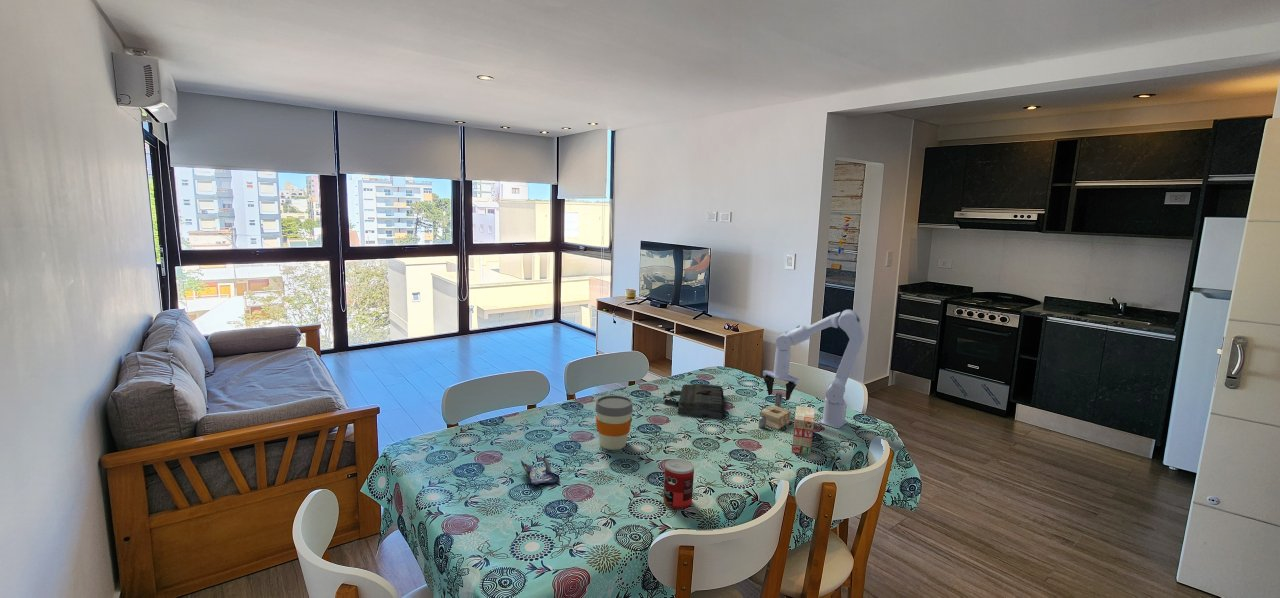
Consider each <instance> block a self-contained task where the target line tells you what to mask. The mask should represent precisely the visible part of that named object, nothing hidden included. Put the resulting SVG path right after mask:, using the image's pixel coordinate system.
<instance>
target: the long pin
mask: <svg viewBox="0 0 1280 598" xmlns="http://www.w3.org/2000/svg"><path fill="white" fill-rule="evenodd" d="M774 402H775V403H774V406H777V407H780V408H782V403H783V393H782V392H776V393H775V401H774Z"/></svg>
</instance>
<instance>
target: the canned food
mask: <svg viewBox="0 0 1280 598" xmlns="http://www.w3.org/2000/svg"><path fill="white" fill-rule="evenodd" d="M663 474H664V477H663V478H664V479H663V495H662V496H663V497H662V498H663V502H664V505H666V506H667V507H669V508H672V509H678V510H679V509H680V510H681V509H686V508H688V507H690V506H691V505H692V502H693V491H694V490H693V489H694V474H695V465H694V464H693V462H691V461H689V460H686V459H682V458H673V459H669V460H666V462H665V465H664V473H663Z"/></svg>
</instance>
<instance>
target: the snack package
mask: <svg viewBox="0 0 1280 598" xmlns="http://www.w3.org/2000/svg"><path fill="white" fill-rule="evenodd" d="M539 459H541V457H540V458H539ZM519 460H520V463H521V466H522V468H523V469H524V470H525V471H524V472H526V474H527V477H528V479H529V481H530V483H531V485H532V486H533V487H534V486H536V485H539V484H544V485H545V486H547V485H553V484H555V483H559V482H560V479H561V478H560V475H559V474H556V473H554V472H552V468H551V466H552V465H551V463H550V462H549V460H548V458H546V457H543V458H542V461H543V463H544V466H545V468H537V467H535V466H534V465H531V464H527V463H526V462H524V461H523V460H522V459H519ZM534 460H536V459H534ZM536 471H537V472H538V473H539V474H538V475H539V477H540V478H538V477H537V476H536Z"/></svg>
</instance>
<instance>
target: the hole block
mask: <svg viewBox="0 0 1280 598" xmlns="http://www.w3.org/2000/svg"><path fill="white" fill-rule="evenodd" d="M760 416H764V417H766V426H765V427H769V428H774V429H776V430H779V429H781V428H783V427H784V426H786V425H788V424H789V423H791V419H792V418H791V417H792V410H790V409H786V408H783V407H781V408H780V407H777V406H775V405H773V404H772V405H770V406H768V407H767V408H764V409H762V410H760V411H759V417H758V418H760Z"/></svg>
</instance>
